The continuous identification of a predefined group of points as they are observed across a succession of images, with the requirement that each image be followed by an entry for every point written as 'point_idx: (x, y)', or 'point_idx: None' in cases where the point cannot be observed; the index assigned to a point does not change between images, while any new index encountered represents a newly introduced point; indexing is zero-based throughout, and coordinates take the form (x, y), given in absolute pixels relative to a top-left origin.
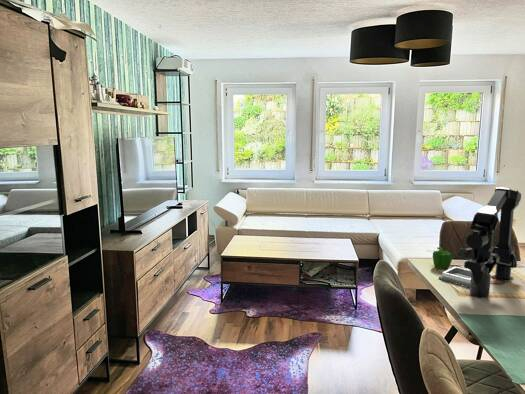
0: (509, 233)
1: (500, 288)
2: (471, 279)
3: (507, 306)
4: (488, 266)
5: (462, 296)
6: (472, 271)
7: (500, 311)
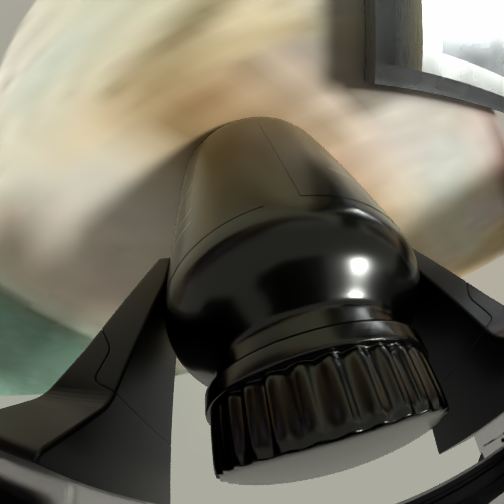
0: None
1: (461, 215)
2: (195, 209)
3: None
4: (453, 401)
5: (116, 123)
6: (55, 403)
7: None
